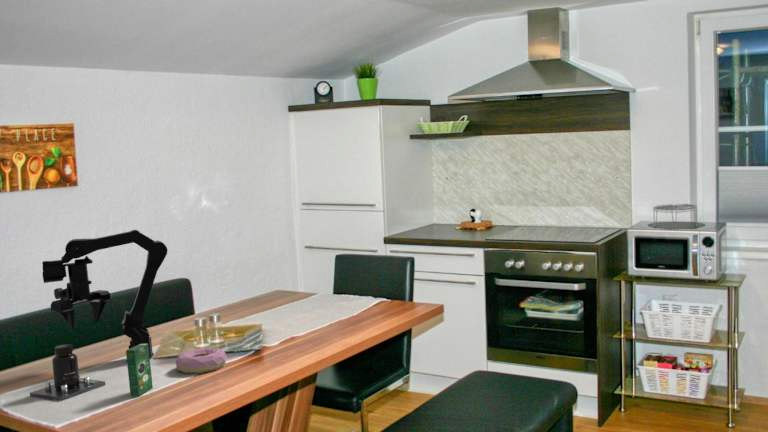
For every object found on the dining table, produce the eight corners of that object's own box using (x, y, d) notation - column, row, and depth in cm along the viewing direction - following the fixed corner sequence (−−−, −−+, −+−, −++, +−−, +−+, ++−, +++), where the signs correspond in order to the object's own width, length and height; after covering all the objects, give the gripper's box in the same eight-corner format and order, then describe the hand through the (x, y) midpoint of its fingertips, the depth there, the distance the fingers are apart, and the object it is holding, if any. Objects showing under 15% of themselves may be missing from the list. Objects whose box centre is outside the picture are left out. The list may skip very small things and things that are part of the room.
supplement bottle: (71, 390, 227) (66, 349, 225) (50, 390, 228) (45, 349, 227) (85, 383, 233) (80, 342, 232) (64, 383, 235) (59, 343, 234)
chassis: (74, 380, 240) (73, 371, 240) (105, 384, 233) (104, 374, 233) (29, 396, 228) (28, 385, 228) (61, 401, 220) (59, 390, 220)
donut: (166, 372, 243) (164, 355, 242) (206, 359, 254) (205, 343, 254) (197, 378, 233) (196, 361, 232) (238, 364, 244) (236, 348, 244)
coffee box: (144, 387, 227) (139, 342, 226) (153, 387, 226) (148, 342, 225) (129, 397, 219) (124, 350, 218) (139, 396, 218) (134, 350, 217)
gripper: (86, 273, 266) (92, 319, 267) (36, 283, 250) (42, 332, 251) (109, 273, 260) (114, 320, 261) (59, 284, 244) (65, 334, 245)
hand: (84, 326), depth 255 cm, fingers open, 9 cm apart
